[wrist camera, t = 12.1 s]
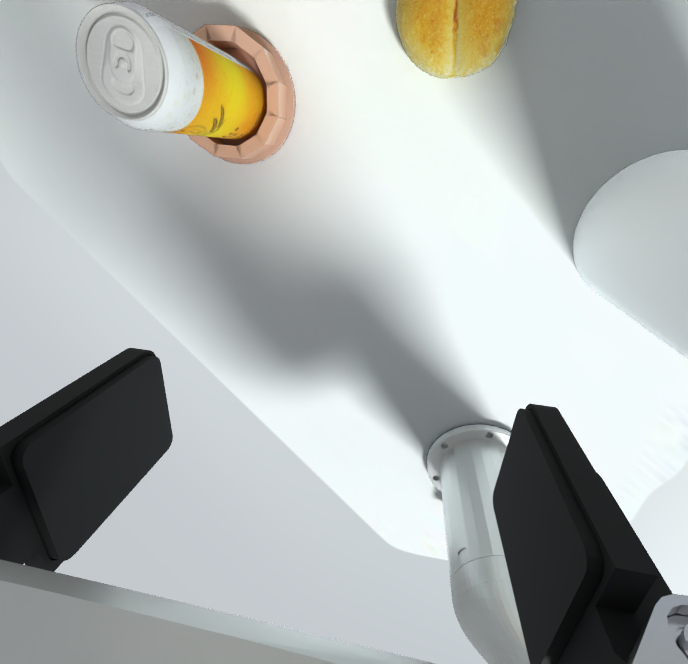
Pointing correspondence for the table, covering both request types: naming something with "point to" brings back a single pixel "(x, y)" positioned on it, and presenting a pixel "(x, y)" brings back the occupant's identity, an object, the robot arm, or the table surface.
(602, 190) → the canister
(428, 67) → the bread roll
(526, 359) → the table surface
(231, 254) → the table surface
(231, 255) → the table surface
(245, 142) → the jar base
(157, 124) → the beer can
